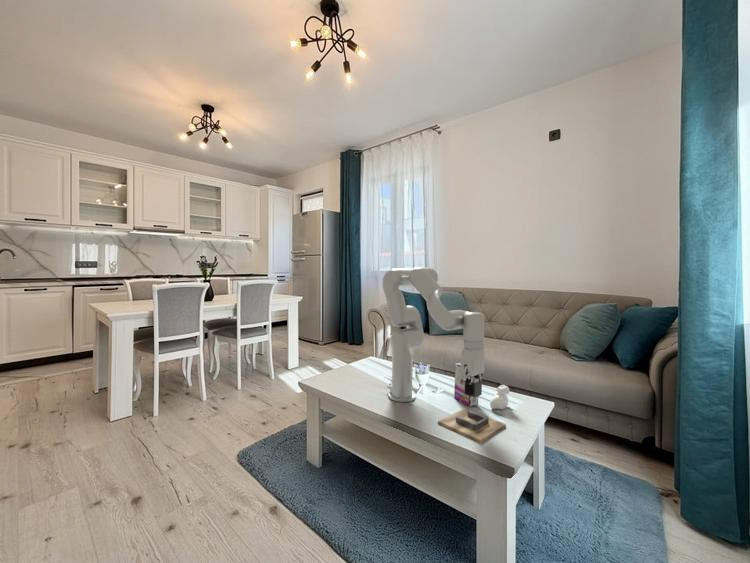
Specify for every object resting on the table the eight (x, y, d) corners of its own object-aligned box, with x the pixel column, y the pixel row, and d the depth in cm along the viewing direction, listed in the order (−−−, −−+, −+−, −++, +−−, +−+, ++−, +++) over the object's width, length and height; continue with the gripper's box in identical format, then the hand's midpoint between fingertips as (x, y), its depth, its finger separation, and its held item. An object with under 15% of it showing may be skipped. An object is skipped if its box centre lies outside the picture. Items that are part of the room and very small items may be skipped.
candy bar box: (478, 405, 138) (479, 368, 137) (469, 407, 136) (470, 369, 135) (462, 396, 148) (463, 362, 148) (453, 398, 146) (454, 363, 146)
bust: (494, 417, 132) (511, 400, 127) (480, 402, 136) (497, 385, 131) (505, 408, 140) (521, 393, 135) (492, 394, 144) (508, 379, 139)
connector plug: (464, 394, 119) (464, 378, 119) (471, 391, 122) (471, 376, 122) (475, 397, 116) (475, 381, 116) (481, 394, 119) (481, 379, 119)
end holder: (437, 423, 120) (438, 415, 120) (464, 410, 132) (464, 403, 132) (480, 442, 107) (480, 434, 107) (505, 426, 118) (505, 419, 118)
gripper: (476, 340, 127) (476, 385, 127) (452, 346, 116) (451, 395, 116) (494, 343, 121) (493, 390, 122) (469, 349, 110) (469, 401, 111)
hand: (472, 392), depth 119 cm, fingers closed on connector plug, 4 cm apart
